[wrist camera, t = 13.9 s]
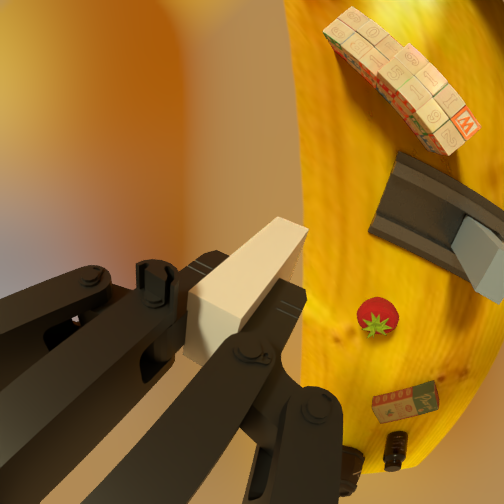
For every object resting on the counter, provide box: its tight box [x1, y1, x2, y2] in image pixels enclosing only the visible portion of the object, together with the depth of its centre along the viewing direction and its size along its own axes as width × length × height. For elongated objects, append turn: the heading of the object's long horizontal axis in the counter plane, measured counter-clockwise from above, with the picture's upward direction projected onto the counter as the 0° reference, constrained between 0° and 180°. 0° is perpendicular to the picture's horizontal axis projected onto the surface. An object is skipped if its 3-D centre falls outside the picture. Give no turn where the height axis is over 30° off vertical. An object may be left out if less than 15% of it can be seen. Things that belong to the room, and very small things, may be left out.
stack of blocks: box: [323, 6, 481, 156], centre depth 25 cm, size 21×6×12 cm, turn 46°
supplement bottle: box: [383, 431, 408, 472], centre depth 52 cm, size 7×7×12 cm
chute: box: [368, 151, 504, 283], centre depth 33 cm, size 14×23×5 cm, turn 75°
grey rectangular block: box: [451, 214, 504, 304], centre depth 27 cm, size 6×5×14 cm
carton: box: [372, 381, 439, 424], centre depth 49 cm, size 8×16×4 cm, turn 125°
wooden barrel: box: [339, 446, 365, 497], centre depth 63 cm, size 18×18×16 cm
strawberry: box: [357, 297, 399, 338], centre depth 41 cm, size 6×8×10 cm
